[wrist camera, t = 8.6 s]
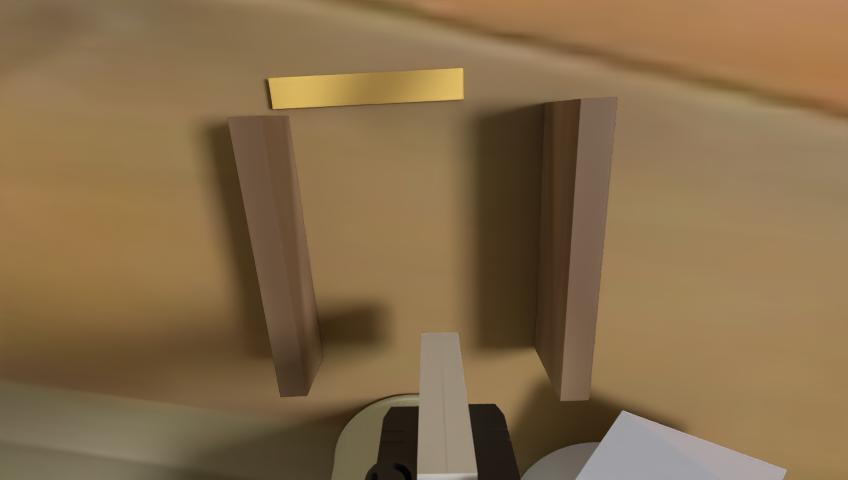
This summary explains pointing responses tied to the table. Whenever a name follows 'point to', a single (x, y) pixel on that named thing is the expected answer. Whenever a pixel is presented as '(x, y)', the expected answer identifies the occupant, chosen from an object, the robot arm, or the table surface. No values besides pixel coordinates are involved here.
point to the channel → (558, 238)
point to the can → (364, 439)
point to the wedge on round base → (649, 457)
